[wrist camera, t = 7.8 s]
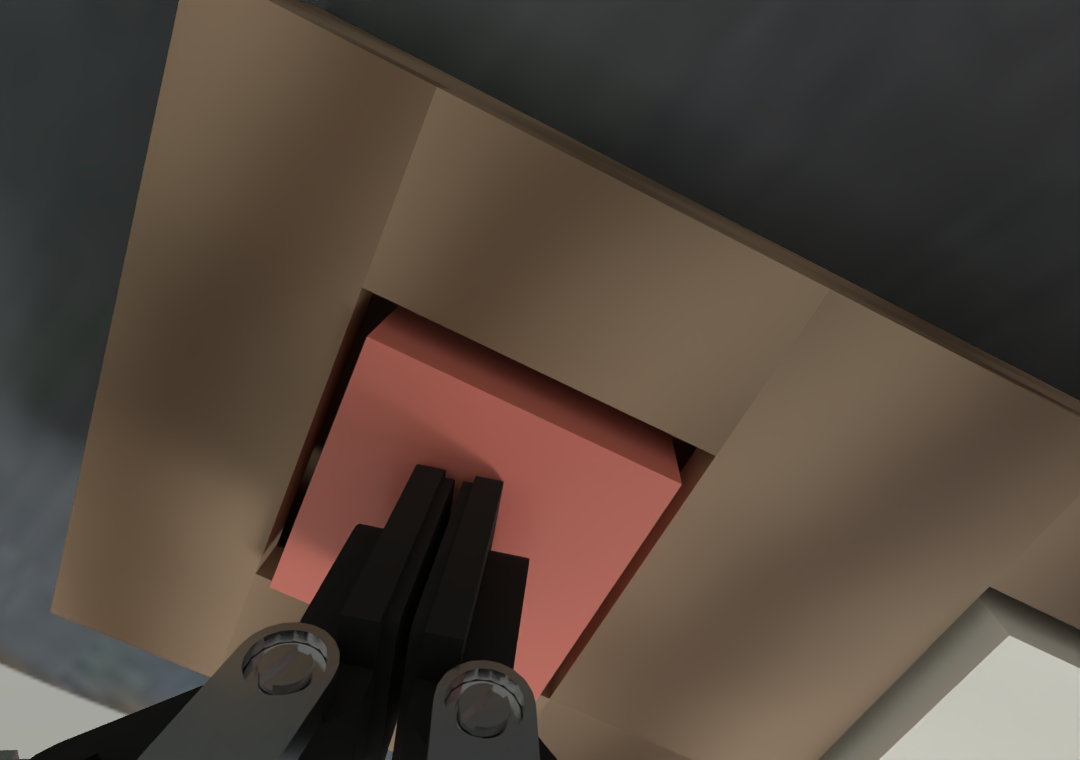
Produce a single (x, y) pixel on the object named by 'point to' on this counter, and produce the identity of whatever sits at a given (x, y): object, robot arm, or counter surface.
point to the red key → (488, 473)
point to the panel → (565, 355)
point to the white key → (980, 693)
